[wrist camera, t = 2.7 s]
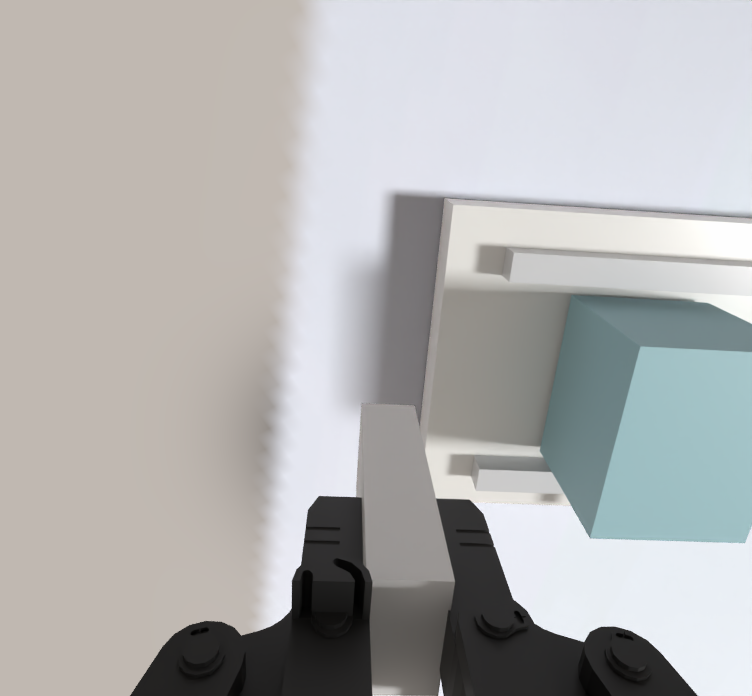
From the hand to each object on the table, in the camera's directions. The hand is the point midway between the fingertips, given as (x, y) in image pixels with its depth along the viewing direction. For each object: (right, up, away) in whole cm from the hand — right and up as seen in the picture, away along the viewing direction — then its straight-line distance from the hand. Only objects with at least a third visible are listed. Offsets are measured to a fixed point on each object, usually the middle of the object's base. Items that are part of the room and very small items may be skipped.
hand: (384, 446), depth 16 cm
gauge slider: (+11, 0, +6) cm, 12 cm away
